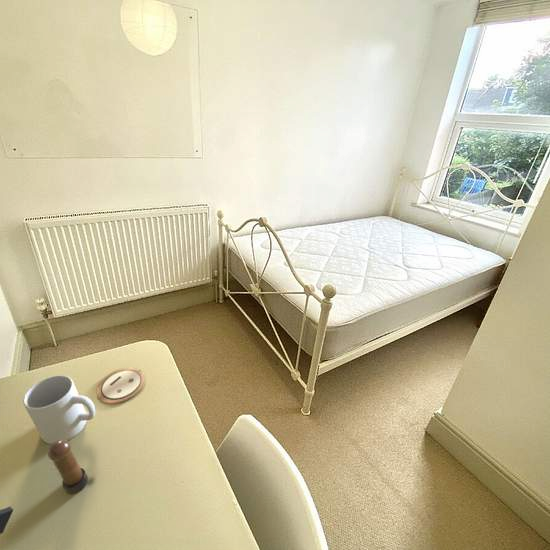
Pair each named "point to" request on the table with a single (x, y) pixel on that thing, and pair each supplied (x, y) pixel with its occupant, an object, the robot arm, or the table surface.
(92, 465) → the table surface
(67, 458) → the stamp
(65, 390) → the mug
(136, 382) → the face mat
